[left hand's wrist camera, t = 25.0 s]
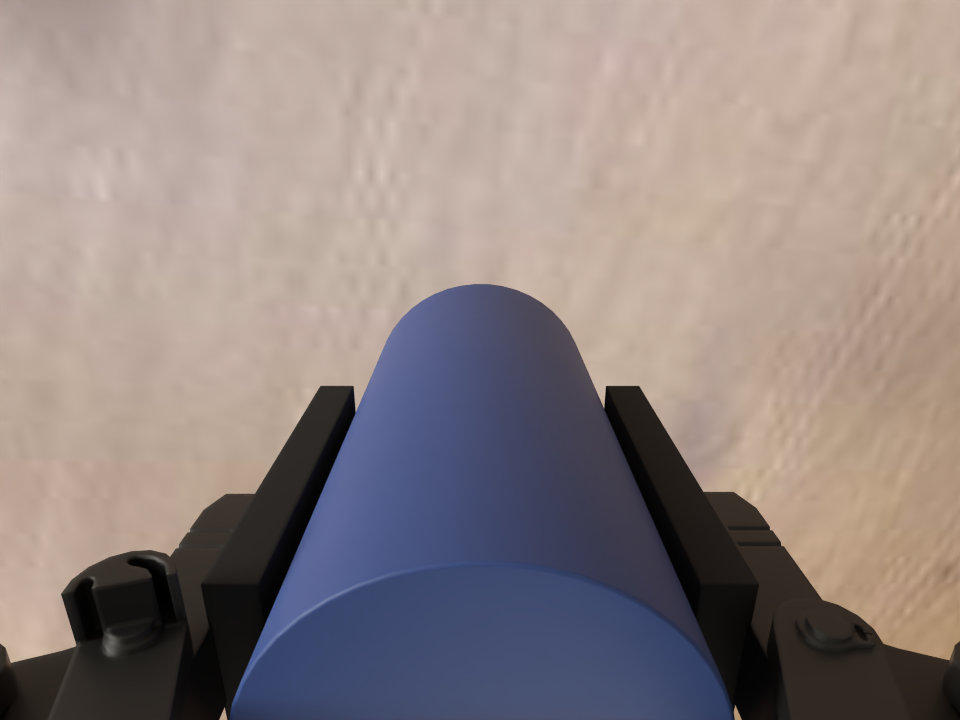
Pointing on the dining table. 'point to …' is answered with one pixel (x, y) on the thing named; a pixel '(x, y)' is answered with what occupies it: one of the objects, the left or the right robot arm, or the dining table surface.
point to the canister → (481, 546)
